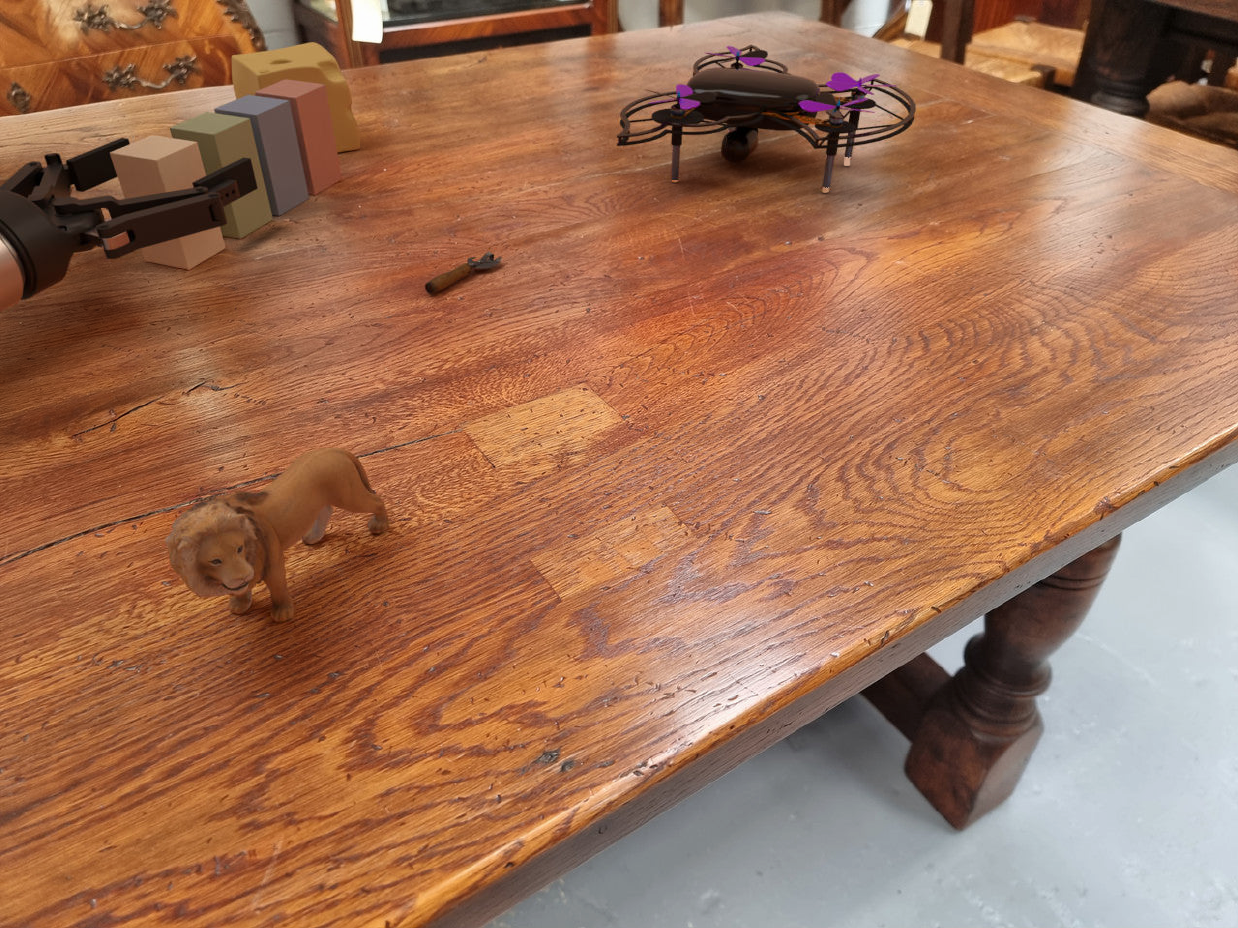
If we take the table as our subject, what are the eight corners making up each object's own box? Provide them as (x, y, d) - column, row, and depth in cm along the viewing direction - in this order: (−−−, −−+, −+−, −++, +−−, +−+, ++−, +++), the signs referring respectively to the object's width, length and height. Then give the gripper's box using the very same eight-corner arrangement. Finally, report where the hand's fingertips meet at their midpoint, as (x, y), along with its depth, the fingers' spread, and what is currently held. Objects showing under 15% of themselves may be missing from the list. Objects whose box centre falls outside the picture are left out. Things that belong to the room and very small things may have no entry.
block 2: (198, 231, 90) (168, 127, 84) (232, 212, 94) (206, 111, 88) (240, 239, 89) (213, 134, 82) (273, 220, 92) (250, 118, 86)
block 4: (275, 188, 99) (254, 92, 93) (304, 173, 103) (285, 79, 96) (315, 195, 98) (295, 97, 91) (342, 179, 101) (325, 84, 95)
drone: (727, 26, 118) (950, 52, 109) (721, 104, 124) (932, 135, 115) (586, 112, 90) (872, 157, 80) (587, 208, 96) (853, 260, 86)
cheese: (363, 150, 109) (349, 60, 103) (272, 167, 104) (251, 74, 98) (331, 126, 115) (316, 40, 109) (244, 141, 111) (223, 52, 105)
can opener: (433, 297, 79) (431, 284, 79) (415, 288, 81) (413, 276, 80) (508, 263, 85) (508, 251, 84) (491, 256, 86) (490, 244, 85)
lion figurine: (264, 683, 47) (219, 553, 41) (177, 655, 48) (122, 526, 42) (409, 506, 58) (389, 385, 52) (335, 488, 59) (308, 367, 53)
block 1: (144, 261, 85) (109, 152, 79) (183, 240, 88) (151, 134, 82) (189, 270, 83) (156, 160, 77) (226, 248, 87) (197, 141, 81)
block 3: (238, 209, 94) (213, 108, 88) (269, 192, 98) (247, 94, 92) (279, 216, 93) (256, 115, 87) (309, 198, 97) (289, 100, 91)
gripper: (-111, 275, 74) (95, 183, 89) (137, 332, 67) (312, 223, 83) (-158, 183, 69) (68, 104, 85) (103, 235, 62) (295, 138, 78)
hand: (189, 162), depth 84 cm, fingers open, 13 cm apart
